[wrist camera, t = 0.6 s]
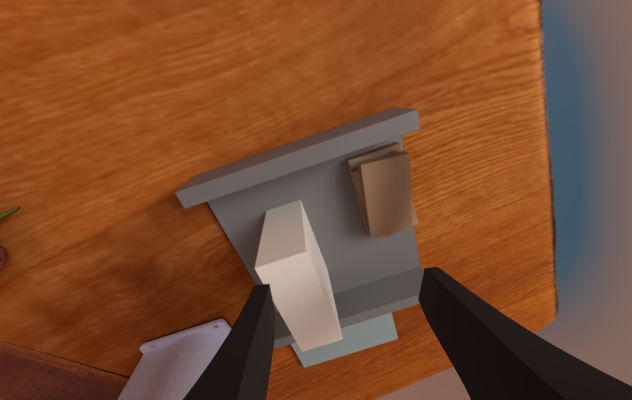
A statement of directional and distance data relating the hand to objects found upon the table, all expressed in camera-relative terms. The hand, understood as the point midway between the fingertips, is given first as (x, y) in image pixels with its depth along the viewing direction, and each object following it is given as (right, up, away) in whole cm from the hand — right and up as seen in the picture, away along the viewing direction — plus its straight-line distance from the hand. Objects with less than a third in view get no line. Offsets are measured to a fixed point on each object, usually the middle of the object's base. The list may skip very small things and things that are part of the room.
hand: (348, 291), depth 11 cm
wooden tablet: (-29, -17, +16) cm, 37 cm away
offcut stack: (+4, +5, +9) cm, 11 cm away
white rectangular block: (-3, 0, +10) cm, 10 cm away
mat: (+2, -11, +16) cm, 19 cm away
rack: (-1, +1, +10) cm, 10 cm away
